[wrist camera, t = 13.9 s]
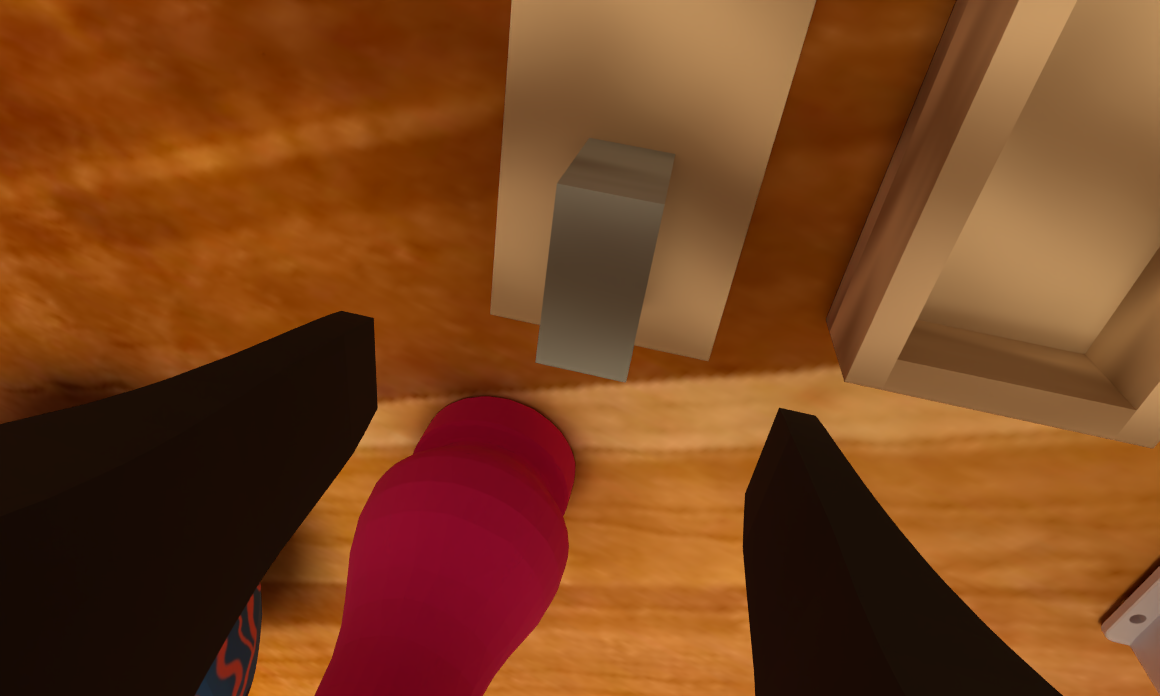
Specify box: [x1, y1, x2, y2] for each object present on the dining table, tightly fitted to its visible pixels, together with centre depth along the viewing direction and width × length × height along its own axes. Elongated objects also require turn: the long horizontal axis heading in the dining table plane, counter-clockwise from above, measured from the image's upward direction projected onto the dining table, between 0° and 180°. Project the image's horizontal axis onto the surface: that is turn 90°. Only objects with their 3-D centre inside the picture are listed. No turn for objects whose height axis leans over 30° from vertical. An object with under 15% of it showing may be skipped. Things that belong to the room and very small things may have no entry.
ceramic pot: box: [195, 583, 262, 696], centre depth 26 cm, size 18×18×15 cm
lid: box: [490, 0, 816, 382], centre depth 17 cm, size 12×8×5 cm, turn 172°
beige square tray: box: [826, 0, 1160, 448], centre depth 15 cm, size 12×11×4 cm
